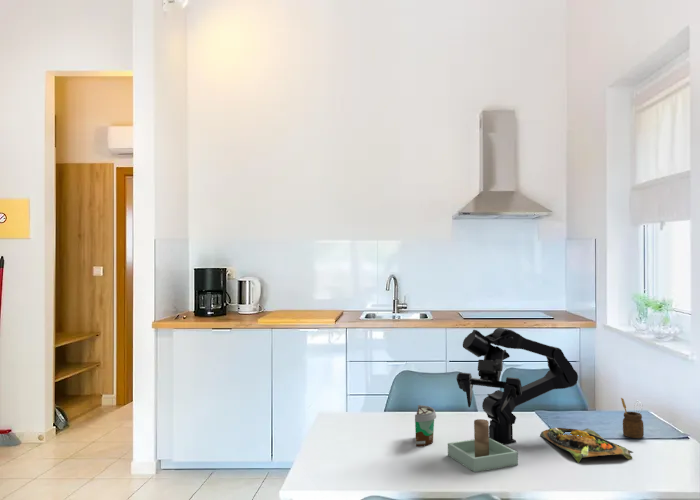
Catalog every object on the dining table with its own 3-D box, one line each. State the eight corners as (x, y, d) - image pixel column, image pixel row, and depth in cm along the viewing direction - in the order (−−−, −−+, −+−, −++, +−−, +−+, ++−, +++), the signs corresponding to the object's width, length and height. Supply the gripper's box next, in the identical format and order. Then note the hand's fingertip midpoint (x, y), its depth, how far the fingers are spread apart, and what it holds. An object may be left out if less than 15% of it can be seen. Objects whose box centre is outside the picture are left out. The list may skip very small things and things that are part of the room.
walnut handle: (484, 455, 160) (483, 418, 160) (492, 459, 156) (491, 422, 156) (472, 457, 158) (471, 420, 159) (480, 461, 155) (479, 424, 155)
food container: (435, 449, 167) (435, 415, 167) (415, 448, 168) (414, 415, 168) (437, 436, 179) (437, 405, 179) (418, 435, 180) (418, 404, 180)
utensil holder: (647, 438, 173) (646, 400, 173) (627, 438, 173) (626, 400, 174) (638, 432, 179) (637, 395, 179) (618, 433, 179) (617, 395, 179)
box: (488, 449, 166) (488, 437, 166) (518, 464, 153) (517, 452, 153) (447, 455, 161) (447, 443, 161) (474, 472, 148) (474, 459, 148)
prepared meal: (534, 423, 181) (587, 420, 182) (535, 433, 181) (588, 430, 182) (575, 455, 153) (637, 452, 154) (575, 468, 153) (638, 464, 154)
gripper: (458, 346, 171) (447, 390, 161) (520, 351, 163) (513, 397, 153) (464, 366, 178) (455, 410, 168) (524, 372, 170) (518, 418, 160)
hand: (484, 408), depth 162 cm, fingers open, 9 cm apart
